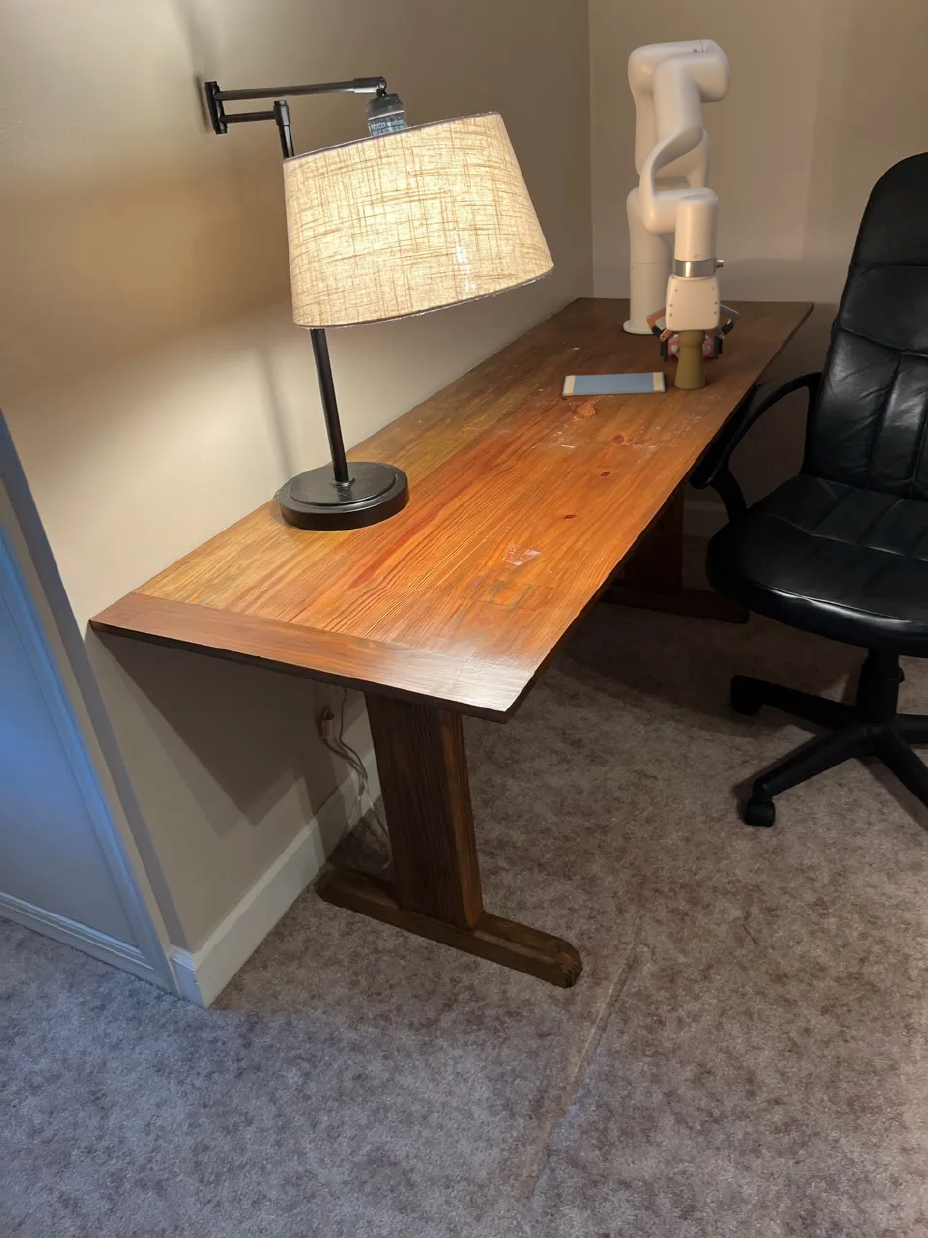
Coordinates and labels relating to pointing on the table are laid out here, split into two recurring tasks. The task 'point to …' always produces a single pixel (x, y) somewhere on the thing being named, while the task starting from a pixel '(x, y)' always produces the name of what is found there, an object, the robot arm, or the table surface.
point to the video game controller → (675, 346)
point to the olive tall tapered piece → (690, 360)
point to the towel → (614, 384)
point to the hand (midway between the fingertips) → (690, 358)
